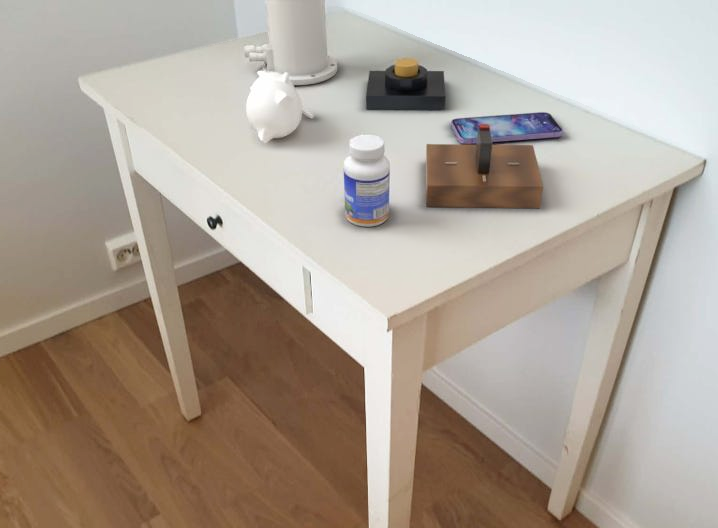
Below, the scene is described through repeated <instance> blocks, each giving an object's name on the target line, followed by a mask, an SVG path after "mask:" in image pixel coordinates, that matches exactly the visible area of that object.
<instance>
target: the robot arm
mask: <svg viewBox="0 0 718 528" xmlns="http://www.w3.org/2000/svg"><path fill="white" fill-rule="evenodd" d="M264 6H265V17H266V26H267V34H268V42H267V43H263V45H250V44H249V45H247V44H246V45H244V48H243V49H244V51H243V52H244V58H249V62H263V64H262V71H265V72H266V73H270V72H276V73H280V74H284V73H285V72H288V73H289V79H290V81H291V82H292V83H293V85H294V86H307V85H314V84H319V83H322V82H325V81H328V80H329V79H331V78H333V77H334V76H335V75H336V74H337V72H338V62H337V60H336V59H335V58H334V57H332V56H331V55H328V42H327V40H328V39H327V21H326V20H327V19H326V18H327V17H326V3H325V0H264Z"/></svg>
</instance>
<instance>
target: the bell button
mask: <svg viewBox="0 0 718 528" xmlns="http://www.w3.org/2000/svg"><path fill="white" fill-rule="evenodd" d="M394 65H395V75H397V76H402V77H410V76H415V75H417V74H418V65H419V60H417V59H415V58H412V57H411V58H410V57H404V58H398V59H396V60H395V61H394Z"/></svg>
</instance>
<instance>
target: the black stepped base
mask: <svg viewBox="0 0 718 528" xmlns="http://www.w3.org/2000/svg"><path fill="white" fill-rule="evenodd" d="M445 84H446V83H445V71H444V70H428V69H427V68H426V67H424V66H423V65H420V64H418V74H417V75H415V76H410V77H402V76H397V75H395V64H392V65H390V66H388V67H387V68H385V70H369V71H368V80H367V87H366V93H365V103H366V104H365V110H366V111H368V110H369V111H371V110H373V111H375V110H377V111H378V110H379V111H381V110H383V111H387V110H389V111H393V110H394V111H399V110H400V111H445V109H446V85H445Z"/></svg>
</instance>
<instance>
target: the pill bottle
mask: <svg viewBox="0 0 718 528" xmlns="http://www.w3.org/2000/svg"><path fill="white" fill-rule="evenodd" d="M348 146H349V147H348V153H349V155H348V156H347V157H346V158H345V160H344V162H343V185H344V186H343V189H344V192H343V193H344V214H345V218H346V220H347V221H348V222H349V223H350V224H352V225H354V226H358V227H363V228H364V227H365V228H366V227H367V228H370V227H376V226H380V225H382V224H383V223H385V222H386V221H387V220H388V218H389V217H390V179H391V178H390V176H391V164H390V160H389V158H388V157H387V156H386V155H385V141H384V139H383V138H382V137H381V136H378V135H375V134H359V135H355V136H353V137H352V138H351V139H350V140H349V143H348Z"/></svg>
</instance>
